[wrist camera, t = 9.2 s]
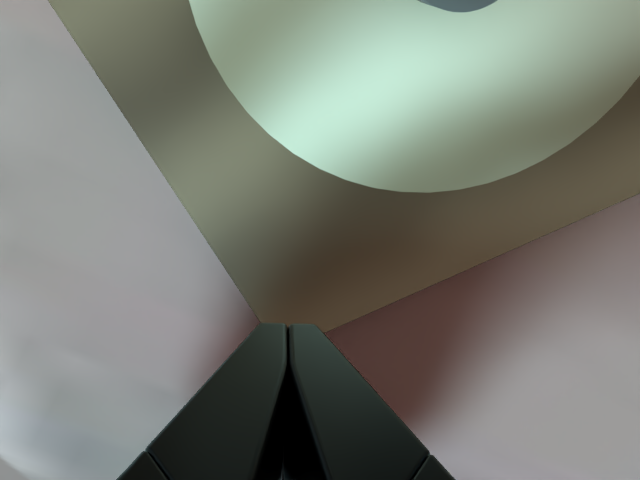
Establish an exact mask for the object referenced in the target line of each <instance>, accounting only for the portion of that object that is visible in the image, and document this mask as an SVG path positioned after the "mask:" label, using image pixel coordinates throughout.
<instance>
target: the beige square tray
mask: <svg viewBox="0 0 640 480" xmlns="http://www.w3.org/2000/svg"><path fill="white" fill-rule="evenodd" d="M48 1H49V3H50V4H51V6H52V7H53V9H54V10H55V12H56V13H57V15H58V16H59V18H60V19H61V21H62V22H63V24H64V26H65V27H66V29H67V30H68V32H69V33H70V35H71V36H72V38H73V39H74V41H75V42H76V44H77V45H78V47H79V48H80V50H81V51H82V53H83V54H84V56H85V57H86V59H87V60H88V62H89V63H90V65H91V66H92V68H93V69H94V71H95V72H96V74H97V76H98V77H99V79H100V80H101V82H102V83H103V85H104V86H105V88H106V89H107V91H108V92H109V94H110V95H111V97H112V98H113V100H114V101H115V103H116V104H117V106H118V107H119V109H120V110H121V112H122V113H123V115H124V116H125V118H126V119H127V121H128V122H129V124H130V125H131V127H132V129H133V130H134V132H135V133H136V135H137V136H138V138H139V139H140V141H141V142H142V144H143V145H144V147H145V148H146V150H147V151H148V153H149V154H150V156H151V157H152V159H153V160H154V162H155V163H156V165H157V166H158V168H159V169H160V171H161V172H162V174H163V175H164V177H165V179H166V180H167V182H168V183H169V185H170V186H171V188H172V189H173V191H174V192H175V194H176V195H177V197H178V198H179V200H180V201H181V203H182V204H183V206H184V207H185V209H186V210H187V212H188V213H189V215H190V216H191V218H192V219H193V221H194V222H195V224H196V225H197V227H198V229H199V230H200V232H201V233H202V235H203V236H204V238H205V239H206V241H207V242H208V244H209V245H210V247H211V248H212V250H213V251H214V253H215V254H216V256H217V257H218V259H219V260H220V262H221V263H222V265H223V266H224V268H225V269H226V271H227V272H228V274H229V275H230V277H231V279H232V280H233V282H234V283H235V285H236V286H237V288H238V289H239V291H240V292H241V294H242V295H243V297H244V298H245V300H246V301H247V303H248V304H249V306H250V307H251V309H252V310H253V312H254V313H255V315H256V316H257V318H258V319H259V321H260V322H261V323H284V324H286V325H287V327H289V325H290V324H293V323H298V324H315V325H316V326H318V328H319V329H320V330H321V331H322V332H323V333H326V332H328V331H330V330H332V329H335V328H337V327H339V326H341V325H344V324H346V323H348V322H350V321H353V320H355V319H357V318H360V317H362V316H364V315H366V314H369V313H371V312H373V311H375V310H378V309H380V308H382V307H384V306H387V305H389V304H391V303H393V302H396V301H398V300H400V299H402V298H405V297H407V296H409V295H411V294H414V293H416V292H418V291H420V290H423V289H425V288H427V287H429V286H432V285H434V284H436V283H438V282H441V281H443V280H445V279H448V278H450V277H452V276H454V275H457V274H459V273H461V272H463V271H466V270H468V269H470V268H472V267H475V266H477V265H479V264H481V263H484V262H486V261H488V260H490V259H493V258H495V257H497V256H499V255H502V254H504V253H506V252H508V251H511V250H513V249H515V248H517V247H520V246H522V245H524V244H526V243H529V242H531V241H533V240H536V239H538V238H540V237H542V236H545V235H547V234H549V233H551V232H554V231H556V230H558V229H560V228H563V227H565V226H567V225H569V224H572V223H574V222H576V221H578V220H581V219H583V218H585V217H587V216H590V215H592V214H594V213H596V212H599V211H601V210H603V209H605V208H608V207H610V206H612V205H614V204H617V203H619V202H621V201H623V200H626V199H628V198H630V197H633V196H635V195H637V194H639V193H640V76H639V77H638V78H637V80H636V81H635V82H634V83H633V84H632V86H631V87H630V88H629V89H628V90H627V92H626V93H625V94H624V95H623V96H622V98H621V99H620V100H619V101H618V102H617V103H616V104H615V105H614V106H613V107H612V108H611V109H610V110H609V111H608V112H607V113H606V114H605V115H604V116H602V117H601V118H600V119H599V120H598V121H597V122H596V123H595V124H594V125H593V126H591V127H590V128H589V129H588V130H586V131H585V132H584V133H583V134H581V135H580V136H579V137H577V138H576V139H575V140H574V141H572V142H571V143H570V144H568V145H567V146H565V147H563V148H562V149H560V150H559V151H557V152H555V153H554V154H552V155H551V156H549V157H547V158H546V159H544V160H543V161H540V162H538V163H536V164H534V165H532V166H530V167H528V168H526V169H524V170H522V171H520V172H518V173H516V174H513V175H510V176H507V177H504V178H501V179H498V180H496V181H493V182H490V183H487V184H482V185H478V186H473V187H469V188H464V189H460V190H451V191H441V192H431V193H424V192H398V191H391V190H385V189H378V188H372V187H369V186H365V185H362V184H358V183H355V182H351V181H348V180H345V179H342V178H340V177H338V176H335V175H333V174H331V173H328V172H326V171H324V170H321V169H319V168H317V167H315V166H314V165H312V164H310V163H309V162H307V161H305V160H304V159H302V158H300V157H299V156H297V155H295V154H293V153H292V152H291V151H290V150H288V149H287V148H286V147H284V146H283V145H282V144H281V143H279V142H278V141H277V140H276V139H274V138H273V137H272V136H270V135H269V134H268V133H267V132H266V131H265V130H264V129H263V128H262V127H261V126H260V125H259V124H258V123H257V122H256V121H255V120H254V119H253V118H252V117H251V116H250V115H249V114H248V113H247V111H246V110H245V109H244V107H243V106H242V105H241V104H240V102H239V101H238V100H237V98H236V97H235V96H234V94H233V93H232V92H231V91H230V89H229V88H228V87H227V85H226V83H225V82H224V80H223V78H222V76H221V75H220V73H219V71H218V70H217V68H216V66H215V64H214V63H213V61H212V59H211V58H210V55H209V53H208V51H207V49H206V46H205V44H204V42H203V39H202V37H201V35H200V32H199V30H198V28H197V26H196V22H195V19H194V16H193V12H192V9H191V6H190V2H189V0H48Z"/></svg>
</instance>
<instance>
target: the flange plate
mask: <svg viewBox="0 0 640 480" xmlns="http://www.w3.org/2000/svg"><path fill="white" fill-rule="evenodd" d="M189 2H190V6H191V9H192V12H193V16H194V19H195V22H196V26H197V28H198V30H199V32H200V35H201V37H202V39H203V42H204V44H205V46H206V49H207V51H208V53H209V55H210V58H211V59H212V61H213V63H214V64H215V66H216V68H217V70H218V71H219V73H220V75H221V76H222V78H223V80H224V82H225V83H226V85H227V87H228V88H229V89H230V91H231V92H232V93H233V94H234V96H235V97H236V98H237V100H238V101H239V102H240V104H241V105H242V106H243V107H244V109H245V110H246V111H247V113H248V114H249V115H250V116H251V117H252V118H253V119H254V120H255V121H256V122H257V123H258V124H259V125H260V126H261V127H262V128H263V129H264V130H265V131H266V132H267V133H268V134H269V135H270V136H272V137H273V138H274V139H276V140H277V141H278V142H279V143H281V144H282V145H283V146H284V147H286V148H287V149H288V150H290V151H291V152H292V153H293V154H295V155H297V156H299V157H300V158H302V159H304V160H305V161H307V162H309V163H310V164H312V165H314V166H315V167H317V168H319V169H321V170H324V171H326V172H328V173H331V174H333V175H335V176H338V177H340V178H342V179H345V180H348V181H351V182H355V183H358V184H362V185H365V186H369V187H372V188H378V189H385V190H391V191H398V192H424V193H431V192H441V191H451V190H460V189H464V188H469V187H473V186H478V185H482V184H487V183H490V182H493V181H496V180H498V179H501V178H504V177H507V176H510V175H513V174H516V173H518V172H520V171H522V170H524V169H526V168H528V167H530V166H532V165H534V164H536V163H538V162H540V161H543V160H544V159H546V158H547V157H549V156H551V155H552V154H554V153H555V152H557V151H559V150H560V149H562V148H563V147H565V146H567V145H568V144H570V143H571V142H572V141H574V140H575V139H576V138H577V137H579V136H580V135H581V134H583V133H584V132H585V131H586V130H588V129H589V128H590V127H591V126H593V125H594V124H595V123H596V122H597V121H598V120H599V119H600V118H601V117H602V116H604V115H605V114H606V113H607V112H608V111H609V110H610V109H611V108H612V107H613V106H614V105H615V104H616V103H617V102H618V101H619V100H620V99H621V98H622V96H623V95H624V94H625V93H626V92H627V90H628V89H629V88H630V87H631V86H632V84H633V83H634V82H635V81H636V80H637V78H638V77H639V76H640V0H189Z"/></svg>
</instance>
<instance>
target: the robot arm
mask: <svg viewBox="0 0 640 480" xmlns="http://www.w3.org/2000/svg"><path fill="white" fill-rule="evenodd" d="M116 480H455V479H454V478H453V477H452V476H451V474H450V473H449V472H448V471H447V470H446V469H445V468H444V467H443V466H442V464H441V463H440V462H439V461H438V460H437V459H436V458H435V457H434V456H433V455H430V452H429V450H428V449H427V448H426V447H425V446H424V445H423V444H422V443H421V441H420V440H419V439H418V438H417V437H416V436H415V435H414V434H413V432H412V431H411V430H410V429H409V428H408V427H407V426H406V425H405V424H404V422H403V421H402V420H401V419H400V418H399V417H398V416H397V415H396V413H395V412H394V411H393V410H392V409H391V408H390V407H389V406H388V405H387V403H386V402H385V401H384V400H383V399H382V398H381V397H380V396H379V395H378V393H377V392H376V391H375V390H374V389H373V388H372V387H371V386H370V384H369V383H368V382H367V381H366V380H365V379H364V378H363V377H362V376H361V374H360V373H359V372H358V371H357V370H356V369H355V368H354V367H353V365H352V364H351V363H350V362H349V361H348V360H347V359H346V358H345V357H344V355H343V354H342V353H341V352H340V351H339V350H338V349H337V348H336V347H335V345H334V344H333V343H332V342H331V341H330V340H329V339H328V338H327V336H326V335H325V334H324V333H323V332H322V331H321V330H320V329H319V328H318V326H316V325H315V324H298V323H293V324H290V325H289V327H287V325H286V324H284V323H260V324H259V325H258V326H257V327H256V328H255V329H254V330H253V331H252V332H251V333H250V334H249V336H248V337H247V338H246V339H245V340H244V341H243V342H242V343H241V344H240V345H239V347H238V348H237V349H236V350H235V351H234V352H233V353H232V354H231V355H230V356H229V358H228V359H227V360H226V361H225V362H224V363H223V364H222V365H221V366H220V367H219V368H218V370H217V371H216V372H215V373H214V374H213V375H212V376H211V377H210V378H209V379H208V381H207V382H206V383H205V384H204V385H203V386H202V387H201V388H200V389H199V390H198V392H197V393H196V394H195V395H194V396H193V397H192V398H191V399H190V400H189V401H188V403H187V404H186V405H185V406H184V407H183V408H182V409H181V410H180V411H179V412H178V414H177V415H176V416H175V417H174V418H173V419H172V420H171V421H170V422H169V423H168V424H167V426H166V427H165V428H164V429H163V430H162V431H161V432H160V433H159V434H158V435H157V437H156V438H155V439H154V440H153V441H152V442H151V443H150V444H149V445H148V446H147V448H146V450H145V451H143V452H142V453H141V454H140V455H139V456H138V457H137V458H136V459H135V460H134V461H133V463H132V464H131V465H130V466H129V467H128V468H127V469H126V470H125V471H124V472H123V473H122V474H121V475H120V476H119V477H118V478H117V479H116Z"/></svg>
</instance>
